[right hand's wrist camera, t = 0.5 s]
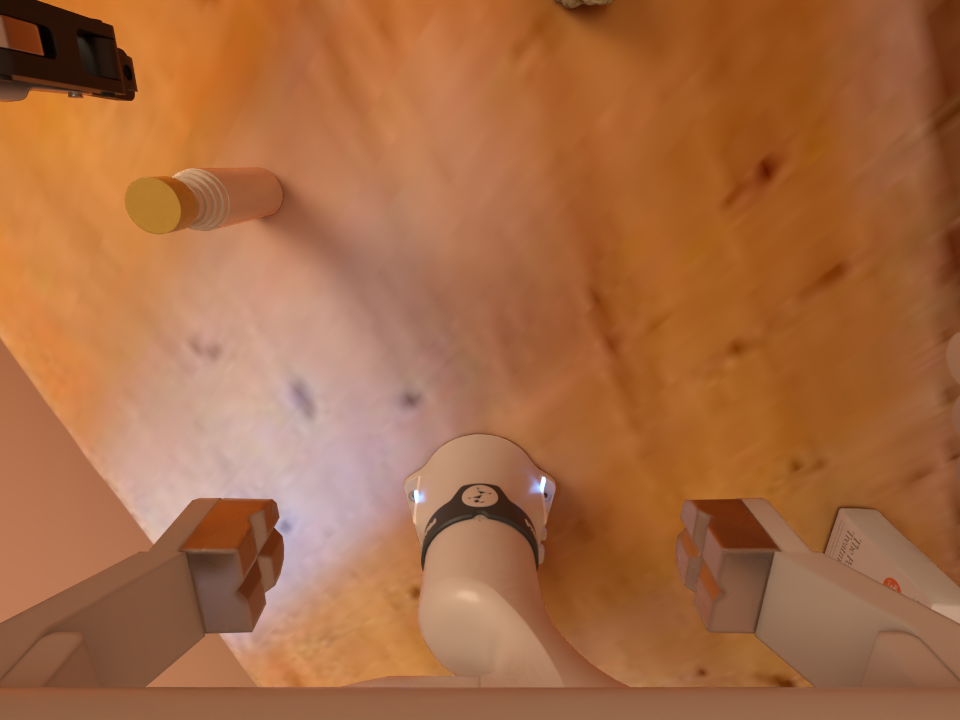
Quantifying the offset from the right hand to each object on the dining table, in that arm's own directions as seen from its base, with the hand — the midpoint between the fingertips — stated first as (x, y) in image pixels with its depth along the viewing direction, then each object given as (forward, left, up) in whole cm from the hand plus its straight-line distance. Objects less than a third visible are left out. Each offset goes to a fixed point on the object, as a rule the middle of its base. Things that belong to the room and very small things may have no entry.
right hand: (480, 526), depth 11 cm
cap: (+4, +23, -30) cm, 37 cm away
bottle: (+4, +23, -48) cm, 53 cm away
